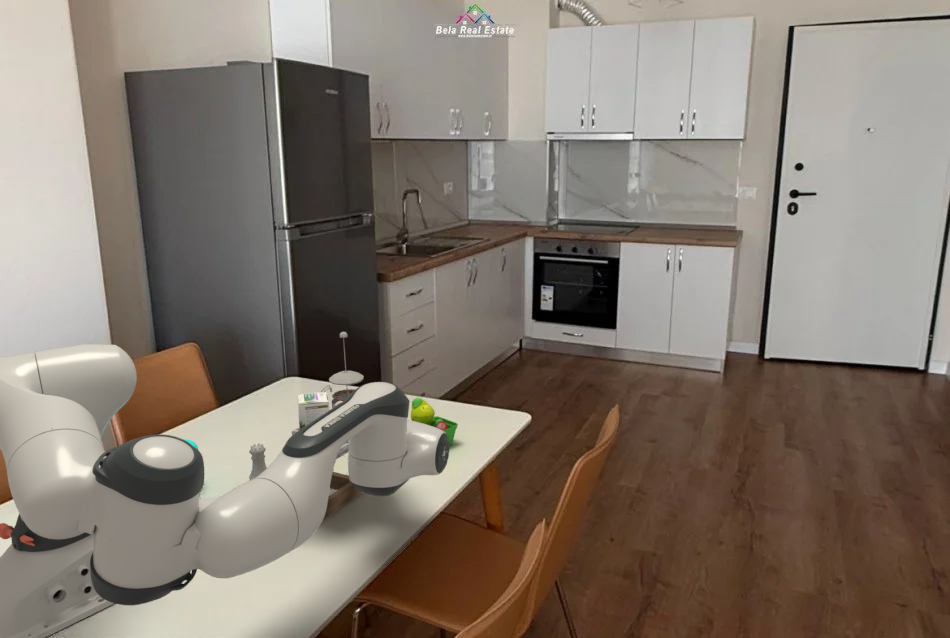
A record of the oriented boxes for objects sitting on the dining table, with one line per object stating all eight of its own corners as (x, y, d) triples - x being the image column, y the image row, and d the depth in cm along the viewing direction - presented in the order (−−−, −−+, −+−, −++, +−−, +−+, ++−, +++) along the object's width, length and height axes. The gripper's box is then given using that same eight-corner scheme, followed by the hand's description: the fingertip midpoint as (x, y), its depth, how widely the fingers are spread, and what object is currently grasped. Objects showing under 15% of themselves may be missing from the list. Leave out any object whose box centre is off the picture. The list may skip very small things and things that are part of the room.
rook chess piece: (265, 488, 146) (261, 451, 144) (245, 486, 147) (241, 450, 145) (275, 477, 150) (272, 442, 148) (256, 476, 151) (252, 441, 149)
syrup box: (302, 463, 141) (295, 394, 138) (332, 459, 143) (326, 390, 139) (303, 476, 136) (297, 404, 132) (335, 471, 137) (329, 400, 134)
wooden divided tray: (286, 545, 125) (285, 530, 124) (239, 530, 130) (237, 515, 129) (362, 492, 143) (361, 478, 142) (317, 480, 148) (316, 467, 147)
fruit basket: (423, 461, 156) (421, 412, 154) (396, 449, 162) (394, 402, 160) (460, 444, 164) (459, 398, 162) (433, 434, 170) (432, 389, 168)
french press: (375, 436, 170) (369, 334, 163) (325, 445, 165) (317, 340, 159) (365, 421, 178) (359, 324, 172) (318, 429, 174) (310, 330, 168)
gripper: (334, 476, 123) (273, 461, 129) (401, 433, 140) (345, 421, 147) (331, 442, 121) (270, 428, 128) (400, 403, 139) (343, 392, 145)
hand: (311, 424), depth 138 cm, fingers closed on syrup box, 8 cm apart
